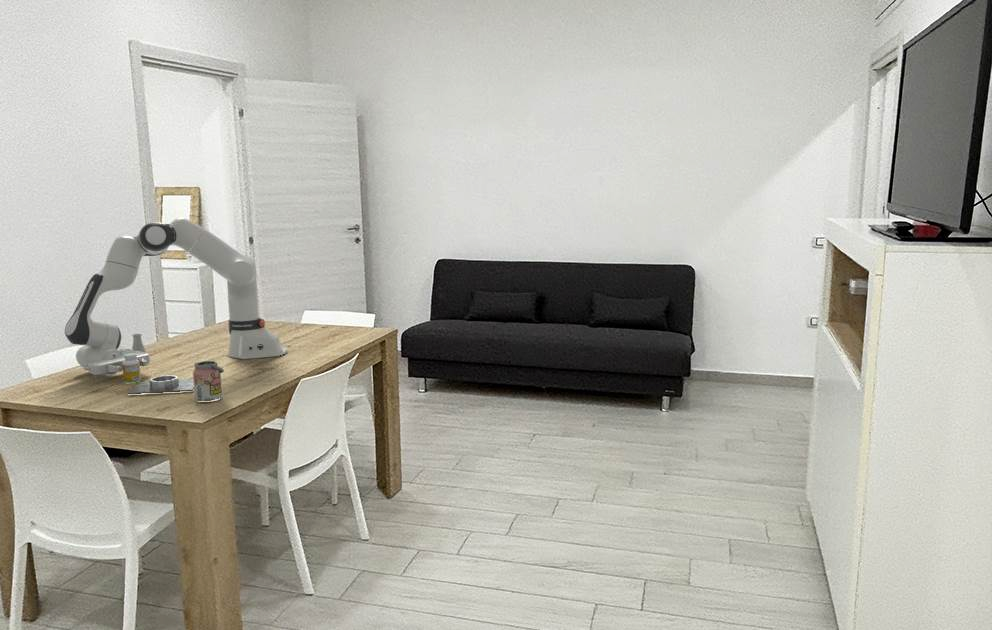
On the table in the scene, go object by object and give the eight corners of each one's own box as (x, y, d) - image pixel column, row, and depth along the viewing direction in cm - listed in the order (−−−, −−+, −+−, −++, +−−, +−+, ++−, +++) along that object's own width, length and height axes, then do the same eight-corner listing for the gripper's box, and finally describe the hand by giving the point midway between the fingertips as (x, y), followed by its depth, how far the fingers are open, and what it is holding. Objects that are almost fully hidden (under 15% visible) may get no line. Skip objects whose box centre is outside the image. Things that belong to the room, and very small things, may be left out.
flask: (141, 362, 302) (139, 336, 300) (124, 361, 303) (122, 335, 302) (153, 357, 309) (151, 332, 307) (136, 357, 310) (134, 332, 309)
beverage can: (210, 394, 257) (207, 358, 255) (230, 397, 254) (228, 360, 251) (189, 402, 248) (186, 365, 246) (210, 405, 245) (207, 367, 243)
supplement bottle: (127, 380, 276) (124, 352, 274) (143, 379, 276) (140, 352, 275) (121, 384, 271) (118, 356, 269) (137, 383, 271) (135, 355, 269)
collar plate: (199, 381, 273) (199, 371, 272) (192, 392, 259) (191, 382, 259) (138, 384, 269) (137, 374, 269) (127, 396, 256) (126, 385, 255)
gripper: (79, 358, 270) (102, 363, 263) (135, 347, 287) (158, 351, 280) (81, 376, 271) (104, 382, 264) (136, 364, 288) (159, 369, 281)
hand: (132, 366), depth 272 cm, fingers open, 8 cm apart
